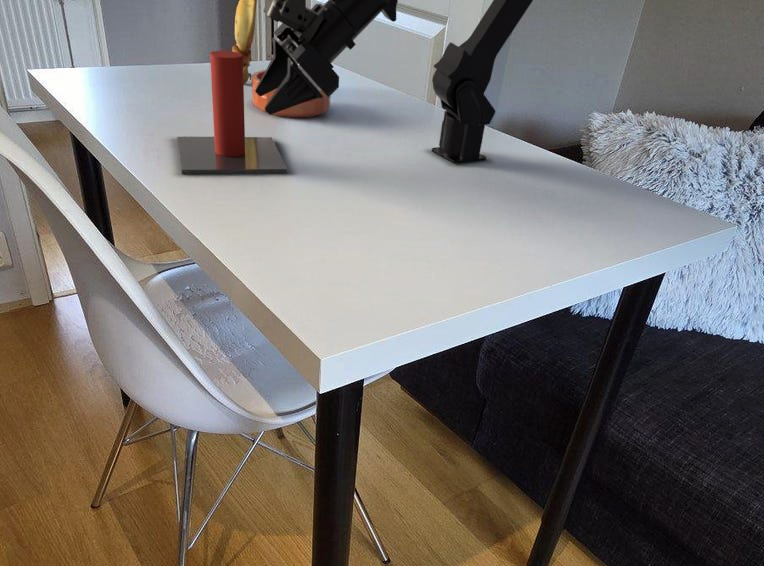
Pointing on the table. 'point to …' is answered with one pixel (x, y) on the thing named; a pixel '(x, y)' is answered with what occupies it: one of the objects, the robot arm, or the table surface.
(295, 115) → the pot
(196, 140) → the coaster
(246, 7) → the tan tall curved piece
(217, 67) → the red tall cylinder
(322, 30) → the robot arm
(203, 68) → the table surface
